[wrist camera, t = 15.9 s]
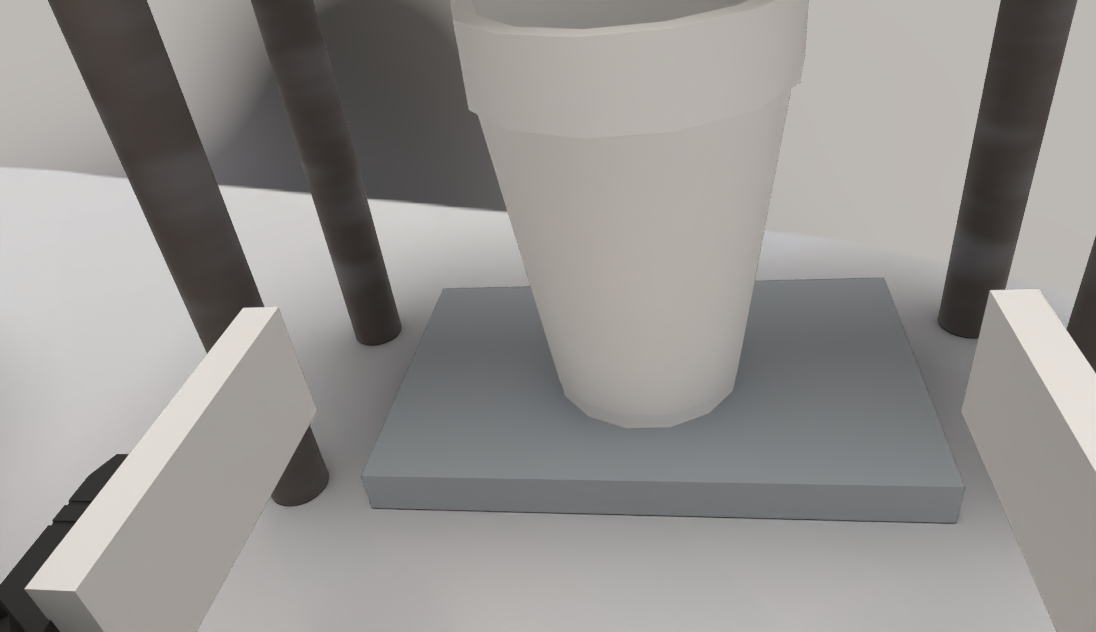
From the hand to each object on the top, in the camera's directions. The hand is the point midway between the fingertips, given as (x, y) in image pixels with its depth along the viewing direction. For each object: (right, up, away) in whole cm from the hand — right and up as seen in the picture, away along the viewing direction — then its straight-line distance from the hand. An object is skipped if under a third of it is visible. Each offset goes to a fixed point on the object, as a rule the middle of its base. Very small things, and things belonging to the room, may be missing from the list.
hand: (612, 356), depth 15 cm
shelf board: (+3, -2, +14) cm, 14 cm away
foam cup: (+2, -1, +13) cm, 13 cm away
